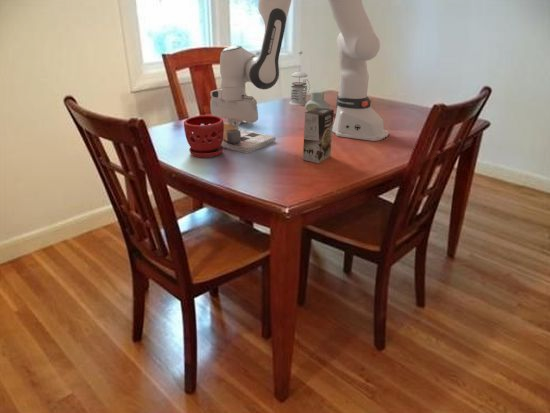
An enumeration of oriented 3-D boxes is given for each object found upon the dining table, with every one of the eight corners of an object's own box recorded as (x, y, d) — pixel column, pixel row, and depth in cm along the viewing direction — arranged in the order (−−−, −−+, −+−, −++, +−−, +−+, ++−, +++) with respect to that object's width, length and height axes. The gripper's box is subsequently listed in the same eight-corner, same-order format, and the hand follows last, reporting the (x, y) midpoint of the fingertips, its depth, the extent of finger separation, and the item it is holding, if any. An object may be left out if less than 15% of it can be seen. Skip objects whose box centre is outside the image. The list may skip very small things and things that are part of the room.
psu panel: (275, 141, 168) (275, 136, 167) (247, 153, 155) (246, 147, 154) (242, 134, 176) (242, 129, 175) (212, 144, 164) (212, 139, 163)
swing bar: (226, 129, 172) (226, 121, 171) (242, 141, 159) (242, 132, 158) (214, 131, 170) (213, 122, 169) (229, 143, 157) (229, 134, 156)
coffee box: (319, 163, 147) (322, 115, 140) (302, 159, 150) (304, 112, 143) (331, 156, 154) (334, 109, 147) (314, 152, 157) (317, 106, 150)
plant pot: (202, 145, 163) (200, 112, 158) (232, 152, 157) (231, 118, 152) (178, 155, 153) (175, 120, 147) (208, 162, 147) (206, 126, 141)
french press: (299, 100, 233) (300, 49, 222) (314, 104, 225) (317, 51, 214) (284, 102, 228) (285, 50, 217) (300, 106, 220) (302, 53, 209)
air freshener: (331, 112, 210) (332, 91, 205) (323, 116, 203) (324, 94, 199) (310, 109, 214) (311, 88, 210) (302, 113, 208) (302, 91, 204)
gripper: (261, 95, 160) (261, 133, 166) (218, 88, 171) (219, 124, 177) (250, 98, 155) (251, 137, 161) (206, 91, 166) (208, 128, 172)
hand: (234, 130), depth 169 cm, fingers closed
